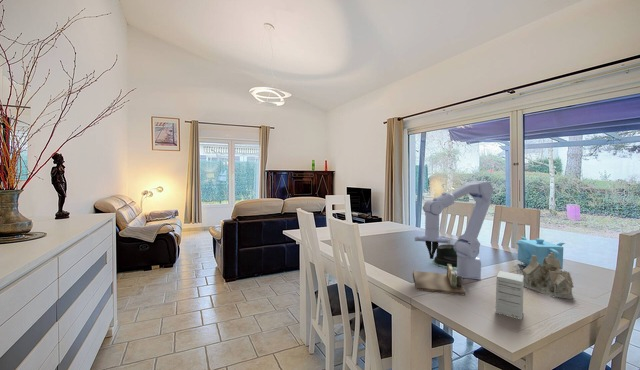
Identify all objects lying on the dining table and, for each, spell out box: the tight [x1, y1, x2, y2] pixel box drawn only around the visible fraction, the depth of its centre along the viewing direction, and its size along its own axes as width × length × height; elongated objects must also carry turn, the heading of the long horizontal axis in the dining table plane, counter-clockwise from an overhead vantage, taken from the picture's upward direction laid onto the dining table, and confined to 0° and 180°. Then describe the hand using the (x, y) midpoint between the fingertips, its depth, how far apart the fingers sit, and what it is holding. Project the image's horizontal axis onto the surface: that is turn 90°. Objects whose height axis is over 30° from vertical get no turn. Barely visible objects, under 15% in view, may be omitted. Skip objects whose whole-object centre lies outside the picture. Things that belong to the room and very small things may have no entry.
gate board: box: [413, 270, 467, 296], centre depth 121 cm, size 18×20×5 cm
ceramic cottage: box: [521, 252, 574, 300], centre depth 115 cm, size 16×16×15 cm
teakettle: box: [514, 236, 566, 270], centre depth 142 cm, size 19×19×15 cm
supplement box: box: [495, 270, 525, 320], centre depth 96 cm, size 7×7×13 cm
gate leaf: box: [446, 264, 457, 288], centre depth 120 cm, size 16×2×5 cm, turn 162°
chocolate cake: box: [431, 243, 457, 270], centre depth 149 cm, size 20×20×9 cm
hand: (431, 258), depth 126 cm, fingers closed
